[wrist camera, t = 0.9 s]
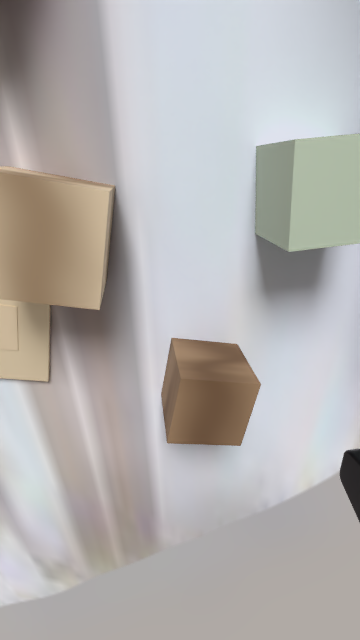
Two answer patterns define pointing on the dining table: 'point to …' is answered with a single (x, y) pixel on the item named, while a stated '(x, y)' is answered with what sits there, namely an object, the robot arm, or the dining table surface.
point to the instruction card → (24, 340)
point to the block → (309, 192)
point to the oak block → (54, 238)
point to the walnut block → (207, 393)
